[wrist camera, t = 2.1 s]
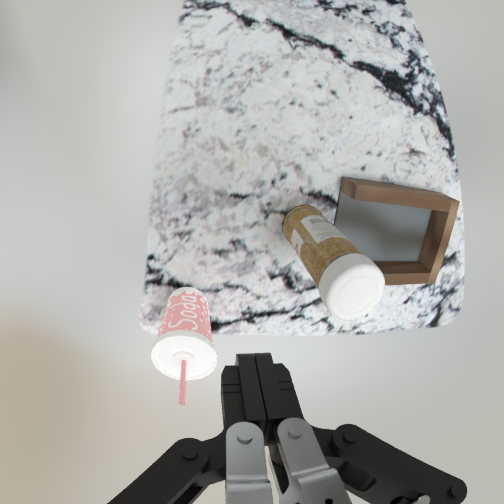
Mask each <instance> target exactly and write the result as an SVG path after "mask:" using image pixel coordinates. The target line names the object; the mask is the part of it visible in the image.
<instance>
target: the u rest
mask: <svg viewBox="0 0 504 504" xmlns="http://www.w3.org/2000/svg"><path fill="white" fill-rule="evenodd" d="M458 206H459V201H457V200H455V199H453V198H451V197H449V196H447V195H444V194H442V193H438V192H433V191H428V190H423V189H417V188H412V187H406V186H401V185H395V184H389V183H382V182H376V181H369V180H362V179H355V178H347V177H342V181H341V187H340V193H339V199H338V205H337V211H336V216H335V222H334V226H335V227H336V228H337V229H338V230H339V231H340V232H341V233H342V234H343V235H344V236H345V237H346V238H347V239H348V240H349V241H350V242H351V243H352V244H353V245H354V246H355V248H356V249H357V250H358V251H359V252H360V253H361V254H363V255H365V256H367V257H368V258H370V259H371V260H372V261H373V262H374V263H375V265H376V266H377V267H378V268H379V269H380V270H381V272H382V273H383V276H384V279H385V285H402V284H422V283H435V281H436V278H437V275H438V273H439V270H440V267H441V264H442V261H443V258H444V255H445V252H446V249H447V246H448V242H449V239H450V236H451V232H452V229H453V225H454V222H455V218H456V214H457V210H458Z"/></svg>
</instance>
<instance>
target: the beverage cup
mask: <svg viewBox="0 0 504 504" xmlns="http://www.w3.org/2000/svg"><path fill="white" fill-rule="evenodd" d="M151 359H152V361H153V363H154V365H155V367H156V368H157V369H158V370H159V371H160V372H162V373H163V374H164V375H167V376H169V377H172V378H174V379H179V380H180V395H179V404H180V405H185V385H186V381H188V380H196V379H200V378H202V377H205V376H207V375H209V374H210V373H211V372H212V371H213V370H214V369H215V367H216V363H217V353H216V350H215V346H214V344H213V342H212V333H211V325H210V317H209V309H208V302H207V298H206V296H205V295H204V294H203V293H202V292H201V291H199V290H197V289H196V288H192V287H182V288H178V289H177V290H175V291H173V292H172V294H171V295H170V297H169V300H168V303H167V306H166V310H165V313H164V317H163V320H162V324H161V328H160V331H159V335H158V338H157V340H156V341H155V343H154V344H153V348H152V357H151Z"/></svg>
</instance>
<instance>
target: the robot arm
mask: <svg viewBox="0 0 504 504" xmlns="http://www.w3.org/2000/svg"><path fill="white" fill-rule="evenodd" d="M221 402H222V413H223V424H224V429H223V431H222V432H221V433H220V434H219V435H218V436H216V437H214V438H212V439H209V440H205V441H202V442H201V441H199V440H197V439H194V438H184V439H181V440H178V441H177V442H176V443H174V444H173V445H172V446H171V447H170V448H169V449H168V450H167V451H166V452H165V453H164V454H163V455H162V456H161V457H160V458H159V459H158V460H157V461H155V462H154V463H153V464H152V465H151V466H150V467H149V468H148V469H147V470H146V471H144V472H143V473H142V474H141V475H140V476H139V477H138V478H137V479H136V480H134V481H133V482H132V483H131V484H130V485H129V486H128V487H127V488H125V489H124V490H123V491H122V492H121V493H119V494H118V495H117V496H116V497H115V498H114V499H112V500H111V501H110V502H109V503H107V504H192V503H193V502H194V501H195V500H196V499H197V498H198V497H199V496H200V495H201V493H202V492H203V491H204V490H205V489H206V488H207V487H208V486H209V485H210V484H214V483H216V482H220V481H223V480H225V489H226V490H225V491H226V504H273V497H272V488H271V483H270V481H269V480H268V476H267V467H266V458H265V447H264V446H268V447H269V452H270V454H269V464H270V467H271V471H272V474H273V477H274V481H275V484H276V487H277V490H278V494H279V504H352V502H351V500H350V498H349V496H348V494H347V492H346V490H348V491H349V492H351V493H353V494H354V495H356V496H358V497H360V498H362V499H363V500H365V501H367V502H369V503H371V504H460V503H461V502H463V500H464V499H465V497H466V494H467V487H466V485H465V483H464V482H463V481H462V480H461V479H459V478H457V477H454V476H452V475H450V474H448V473H445V472H443V471H441V470H439V469H437V468H435V467H433V466H430V465H428V464H426V463H424V462H422V461H420V460H418V459H416V458H414V457H412V456H410V455H409V454H407V453H405V452H403V451H401V450H399V449H397V448H395V447H393V446H391V445H390V444H388V443H386V442H384V441H382V440H380V439H379V438H377V437H375V436H373V435H372V434H370V433H368V432H366V431H365V430H363V429H361V428H360V427H358V426H356V425H353V424H344V425H341V426H339V427H338V428H337V429H336V430H329V429H321V428H317V427H314V426H312V425H310V424H309V423H308V422H307V421H306V420H305V419H304V417H303V414H302V412H301V408H300V405H299V402H298V398H297V395H296V392H295V390H294V385H293V383H292V379H291V376H290V373H289V371H288V369H287V368H286V367H285V366H284V365H283V364H282V363H279V364H273V360H272V356H271V353H254V354H236V364H235V366H225V368H224V370H223V372H222V374H221Z"/></svg>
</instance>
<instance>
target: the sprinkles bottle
mask: <svg viewBox="0 0 504 504" xmlns="http://www.w3.org/2000/svg"><path fill="white" fill-rule="evenodd" d="M283 231H284V235H285V237H286V238H287V240H288V241H290V243H291V244H292V246H293V249H294V250H295V252H296V253H297V255H298V256H299V258H300V260H301V261H302V263H303V265H304V266H305V268H306V269H307V271H308V273H309V274H310V275H311V276H312V278H313V280H314V282H315V283H316V285H317V286H318V288H319V294H320V297H321V299H322V301H323V302H324V304H325V306H326V307H327V309H328V311H329V312H330V313H331V314H332V315H333V316H334V317H336V318H339V319H342V320H353V319H357V318H359V317H362V316H364V315H365V314H367V313H369V312H370V311H371V310H372V309H373V308H374V307H375V306H376V305H377V304H378V302H379V301H380V299H381V297H382V295H383V293H384V289H385V279H384V276H383V273H382V272H381V270H380V269H379V268H378V267H377V266H376V265H375V263H374V262H373V261H372V260H371V259H370V258H368V257H367V256H365V255H363V254H361V253H360V252H359V251H358V250H357V249H356V248H355V246H354V245H353V244H352V243H351V242H350V241H349V240H348V239H347V238H346V237H345V236H344V235H343V234H342V233H341V232H340V231H339V230H338V229H337V228H336V227H335V226H334V225H333V224H332V223H331V222H330V221H328V220H327V219H326V218H324V217H323V216H322V214H321V212H320V211H319V210H318V209H316V208H314V207H312V206H309V205H302V206H298V207H296V208H294V209H293V210H291V211H290V212H289V213H288V214H287V216H286V217H285V220H284V224H283Z"/></svg>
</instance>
